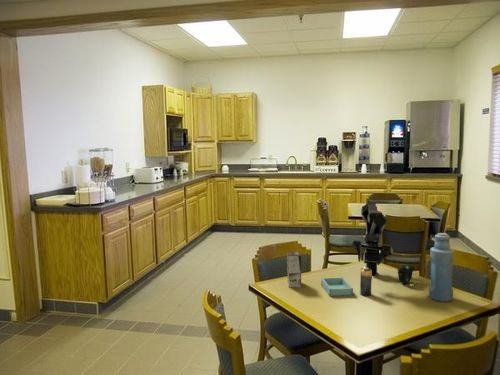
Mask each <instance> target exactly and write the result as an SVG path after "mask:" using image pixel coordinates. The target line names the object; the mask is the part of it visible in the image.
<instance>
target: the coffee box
mask: <svg viewBox="0 0 500 375" xmlns="http://www.w3.org/2000/svg"><path fill="white" fill-rule="evenodd" d="M286 253H287V255H286V256H287V257H286V258H287V259H286V261H287V264H286V266H287V270H286V272H287V286H288V287H289V288H302V255H301V252H300V251H297V250H296V251H287V252H286Z"/></svg>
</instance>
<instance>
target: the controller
mask: <svg viewBox="0 0 500 375" xmlns="http://www.w3.org/2000/svg"><path fill="white" fill-rule="evenodd" d="M415 270H416V267H415V266H414V265H409V264H408V265H406V264H401V265H400V267H399V268H397V276H398V281H399V282H400V283H402V284H405V285H406V284H409V283H410V282H411V280H412V278H413V273H414V271H415Z"/></svg>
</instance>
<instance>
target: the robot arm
mask: <svg viewBox="0 0 500 375" xmlns="http://www.w3.org/2000/svg"><path fill="white" fill-rule="evenodd" d="M360 209H361V211H360V216H361V217H362V220H363V222H364V223H365V229H366V230H365V232H366V233H365V236H364V241H365V243H363V242H362V241H361V240H357V239H355V240H353V241H352V243H351V245H352V247H353V249H354V250H356V252H357V257H358V258H357V260H358V262H359V263H360V262H361V260H363V264H366V265H365V267H369V269H372V276H379V275H380V273H379V272H378V266H380V265H381V263H382V262H383V261H384V260H385V259H386V258H387V257H390V256H393V253H394V250H393V247H392V245H391V244H385V243H384V244H382V246H381V245H380V243H381V241H382V236H383V232H384V229H385V226H386V224H387V223H386V222H387V218H386V217H385V215H384V213H383V212H382V211H379V210H378V206H377V204H376V202H366V203H365V204H364V205H363V206H361V208H360ZM364 249H365V251H364V252H363V250H364ZM362 256H363V258H362Z"/></svg>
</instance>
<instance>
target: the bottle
mask: <svg viewBox="0 0 500 375" xmlns="http://www.w3.org/2000/svg"><path fill="white" fill-rule="evenodd" d="M434 239H435V240H434V244H433V246H432V247H431V248H430V249H429V252H430V253H429V254H430V255H429V257H430V284H429V288H428V289H429V291H428V296H429V298H430V299H432V301H435V302H442V303H447V302H448V303H449V302H452V301H453V300H454V290H453V272H454V271H453V270H454V269H453V266H454V262H455V260H454V259H455V250H454V249H453V248H451V244H450V243H451V242H450V239H451V236H450V235H449V234H448V233H445V232H438V233H436V234H435V235H434Z"/></svg>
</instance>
